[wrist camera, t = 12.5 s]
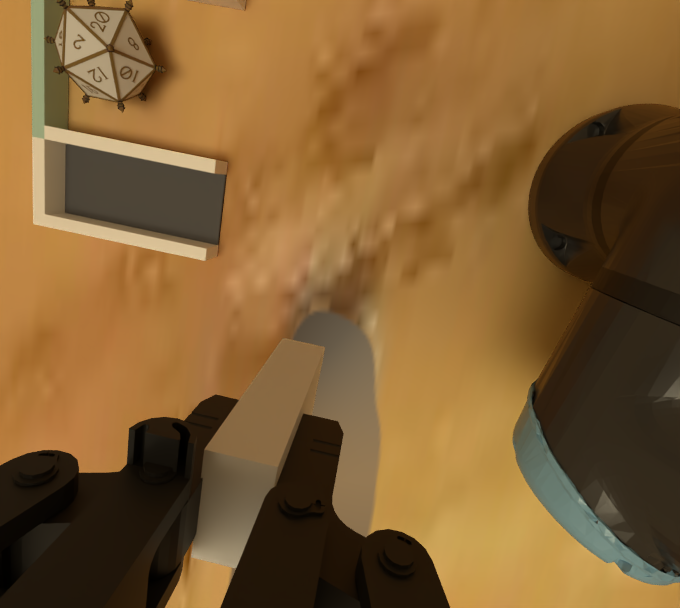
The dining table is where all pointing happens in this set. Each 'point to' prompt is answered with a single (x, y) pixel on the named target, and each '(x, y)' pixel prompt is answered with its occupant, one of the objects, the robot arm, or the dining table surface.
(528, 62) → the dining table surface
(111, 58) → the game die
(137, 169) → the pads
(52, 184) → the trap box
